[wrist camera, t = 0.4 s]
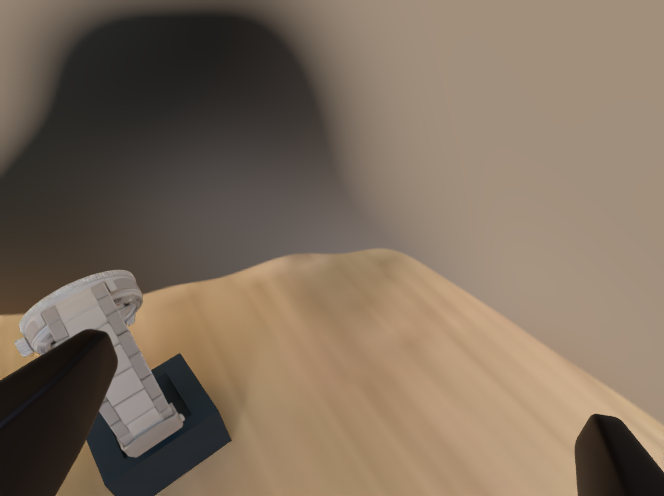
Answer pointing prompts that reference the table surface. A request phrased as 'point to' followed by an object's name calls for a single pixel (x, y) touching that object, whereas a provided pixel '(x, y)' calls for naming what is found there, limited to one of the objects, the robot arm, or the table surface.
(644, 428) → the table surface
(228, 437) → the watch
